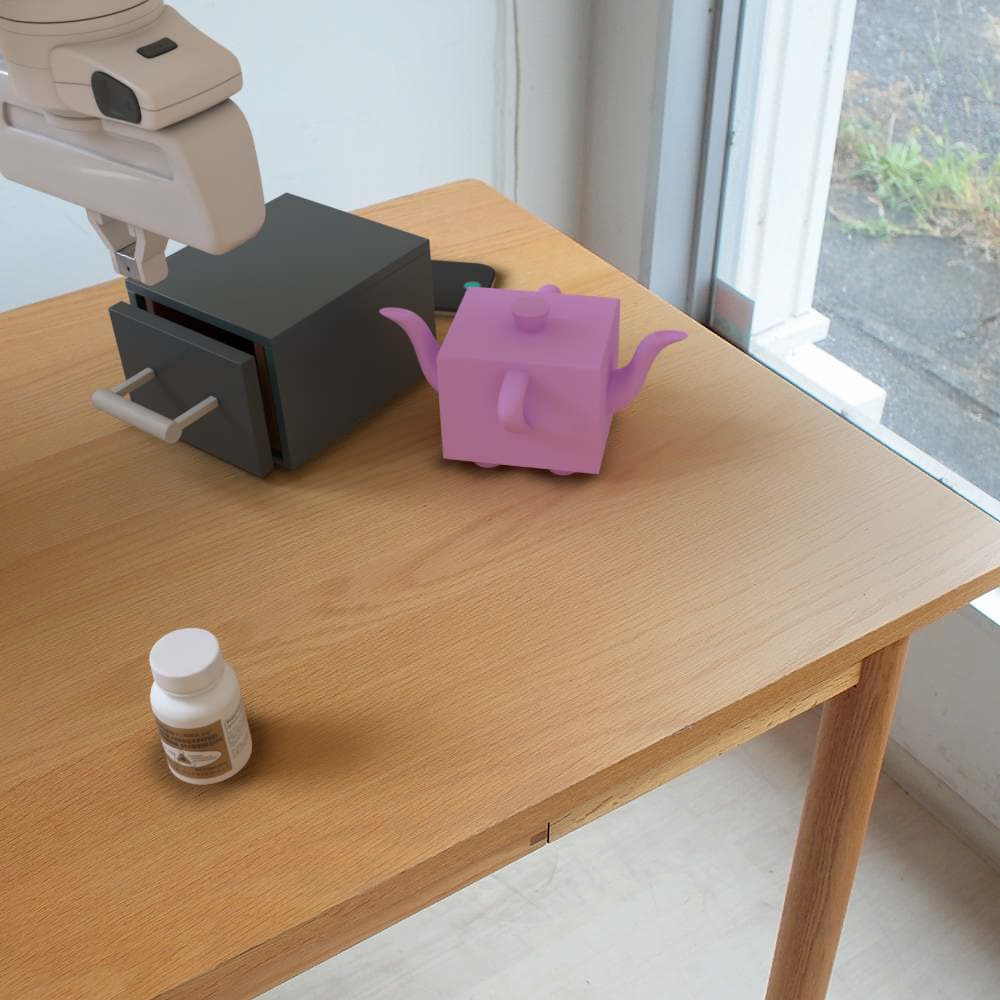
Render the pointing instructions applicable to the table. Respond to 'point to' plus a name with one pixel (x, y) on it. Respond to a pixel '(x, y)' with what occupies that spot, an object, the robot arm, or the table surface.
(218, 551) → the table surface
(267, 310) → the cabinet
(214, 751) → the pill bottle
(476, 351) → the teapot
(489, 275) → the smartphone
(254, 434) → the drawer
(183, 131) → the robot arm
